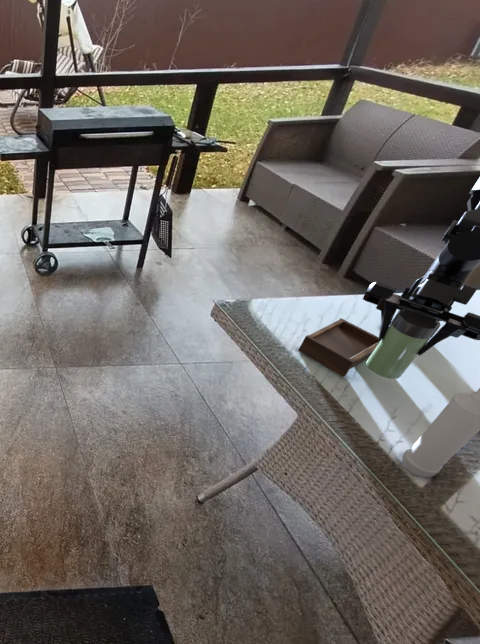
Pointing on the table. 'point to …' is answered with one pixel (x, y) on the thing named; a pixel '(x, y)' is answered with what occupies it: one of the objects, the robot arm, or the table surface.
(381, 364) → the spice jar
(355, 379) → the table surface
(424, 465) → the bottle
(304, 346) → the wooden tray
